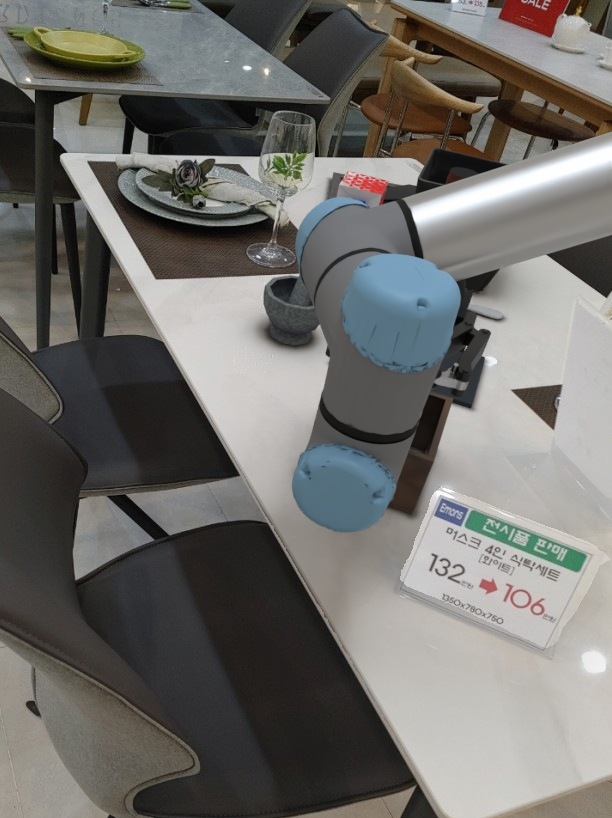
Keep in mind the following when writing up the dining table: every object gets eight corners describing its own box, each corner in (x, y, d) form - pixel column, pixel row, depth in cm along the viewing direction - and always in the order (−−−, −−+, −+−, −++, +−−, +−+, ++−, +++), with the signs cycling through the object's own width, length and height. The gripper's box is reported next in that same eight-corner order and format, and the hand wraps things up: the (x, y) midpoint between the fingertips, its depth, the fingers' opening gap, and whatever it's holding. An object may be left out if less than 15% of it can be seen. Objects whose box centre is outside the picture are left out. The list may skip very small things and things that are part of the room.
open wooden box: (432, 449, 98) (453, 398, 92) (412, 514, 88) (433, 461, 83) (331, 415, 100) (346, 363, 95) (301, 475, 91) (314, 421, 85)
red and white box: (377, 222, 148) (388, 180, 143) (370, 237, 143) (381, 194, 137) (337, 212, 150) (347, 170, 144) (329, 226, 144) (338, 184, 139)
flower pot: (406, 236, 145) (434, 143, 134) (505, 263, 142) (542, 170, 131) (388, 277, 132) (417, 177, 120) (497, 307, 129) (537, 208, 117)
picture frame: (429, 198, 161) (331, 179, 162) (432, 188, 160) (333, 170, 160) (432, 228, 150) (327, 208, 150) (436, 218, 148) (329, 198, 149)
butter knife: (502, 319, 125) (503, 311, 127) (361, 278, 129) (364, 272, 131) (501, 321, 125) (503, 314, 127) (360, 281, 129) (364, 274, 131)
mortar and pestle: (307, 359, 109) (325, 281, 101) (248, 337, 112) (261, 260, 103) (333, 326, 117) (352, 252, 109) (277, 307, 119) (291, 232, 111)
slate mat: (483, 360, 115) (485, 357, 115) (470, 408, 106) (472, 404, 105) (357, 321, 119) (358, 318, 119) (333, 364, 109) (334, 360, 109)
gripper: (266, 396, 72) (332, 296, 88) (481, 467, 68) (508, 348, 84) (280, 326, 67) (347, 232, 83) (513, 398, 63) (535, 285, 79)
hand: (428, 291), depth 83 cm, fingers closed on wine bottle, 7 cm apart
